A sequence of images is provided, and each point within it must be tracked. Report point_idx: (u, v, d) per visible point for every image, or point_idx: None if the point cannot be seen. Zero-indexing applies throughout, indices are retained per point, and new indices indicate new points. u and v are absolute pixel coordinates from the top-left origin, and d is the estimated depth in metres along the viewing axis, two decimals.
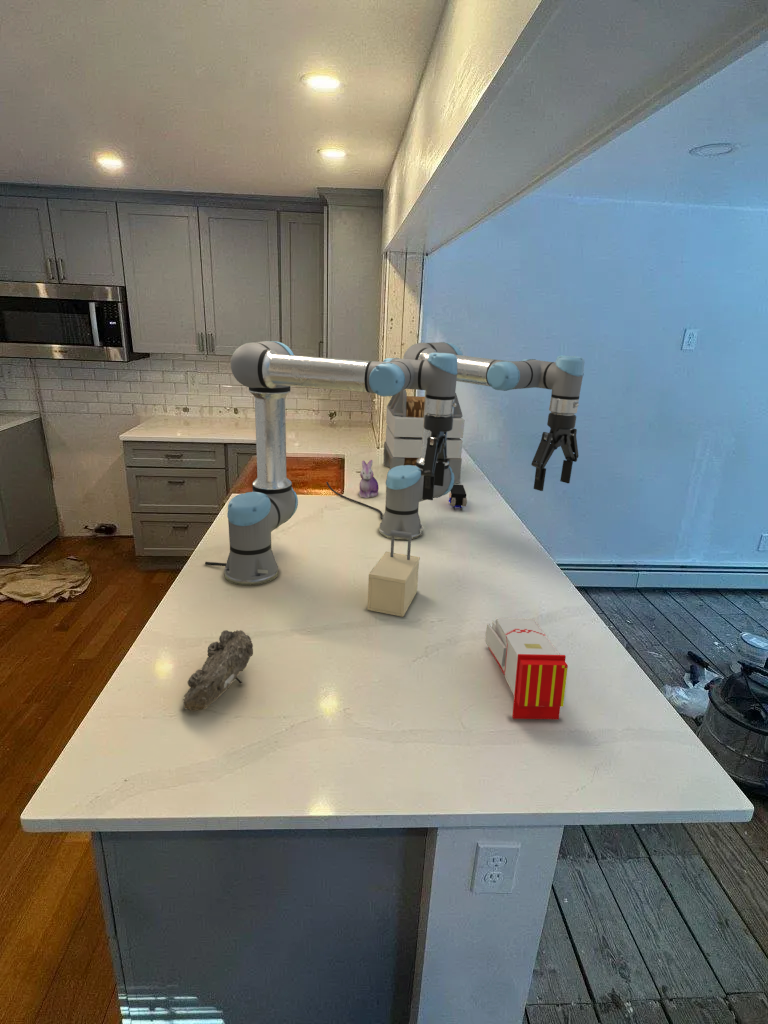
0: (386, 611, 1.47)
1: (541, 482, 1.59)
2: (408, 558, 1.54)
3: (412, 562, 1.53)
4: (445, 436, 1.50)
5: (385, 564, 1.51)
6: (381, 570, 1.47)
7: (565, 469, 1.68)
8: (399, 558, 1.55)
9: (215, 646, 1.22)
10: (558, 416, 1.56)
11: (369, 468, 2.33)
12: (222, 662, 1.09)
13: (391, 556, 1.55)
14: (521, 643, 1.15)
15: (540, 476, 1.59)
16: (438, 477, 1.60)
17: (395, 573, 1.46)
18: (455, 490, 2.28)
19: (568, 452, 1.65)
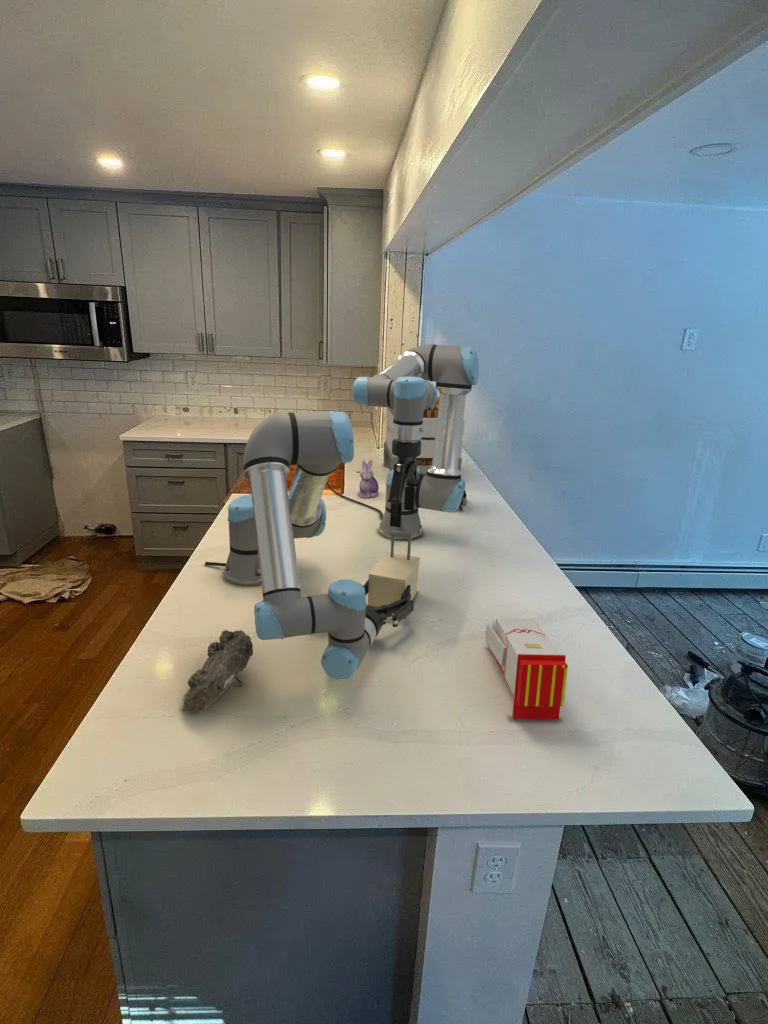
0: None
1: (399, 518, 1.44)
2: (408, 558, 1.54)
3: (412, 562, 1.53)
4: None
5: (385, 564, 1.51)
6: (381, 570, 1.47)
7: (408, 496, 1.56)
8: (399, 558, 1.55)
9: (215, 646, 1.22)
10: (406, 444, 1.41)
11: (369, 468, 2.33)
12: (222, 662, 1.09)
13: (391, 556, 1.55)
14: (521, 643, 1.15)
15: (397, 512, 1.43)
16: None
17: (395, 573, 1.46)
18: None
19: (411, 479, 1.52)
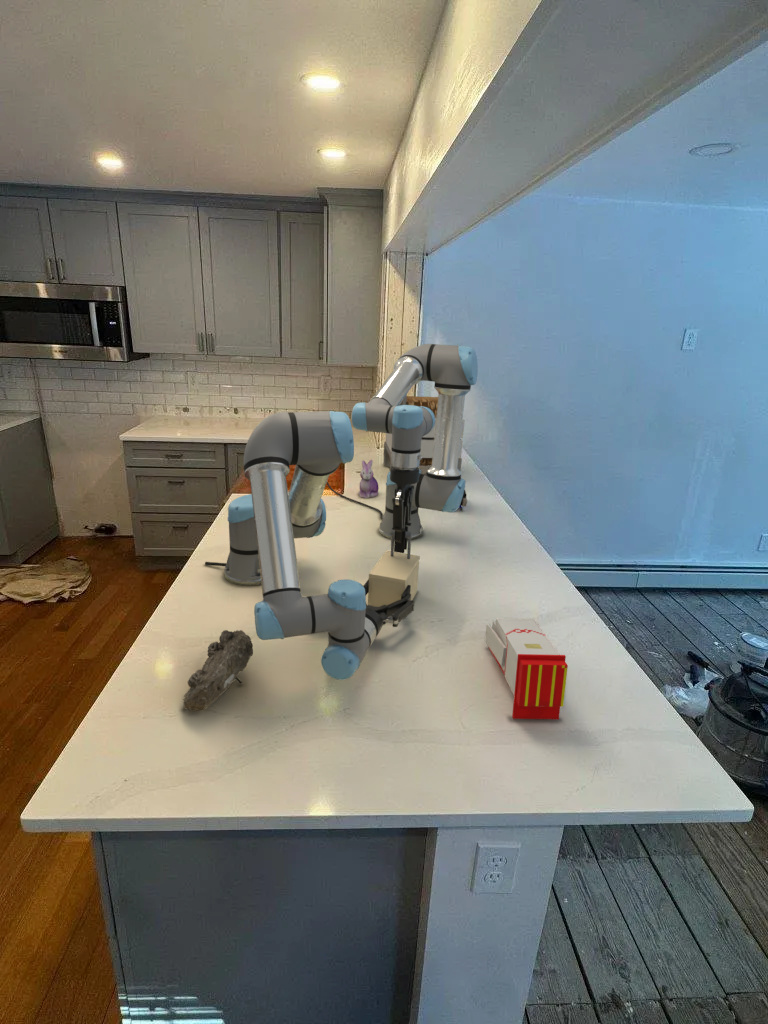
0: None
1: (403, 544, 1.52)
2: (408, 557, 1.54)
3: (412, 561, 1.53)
4: None
5: (386, 564, 1.51)
6: (381, 570, 1.47)
7: None
8: (399, 557, 1.55)
9: (215, 646, 1.22)
10: (404, 472, 1.43)
11: (369, 468, 2.33)
12: (222, 662, 1.09)
13: (391, 555, 1.55)
14: (521, 643, 1.15)
15: (401, 539, 1.51)
16: None
17: (395, 573, 1.46)
18: None
19: (406, 512, 1.52)
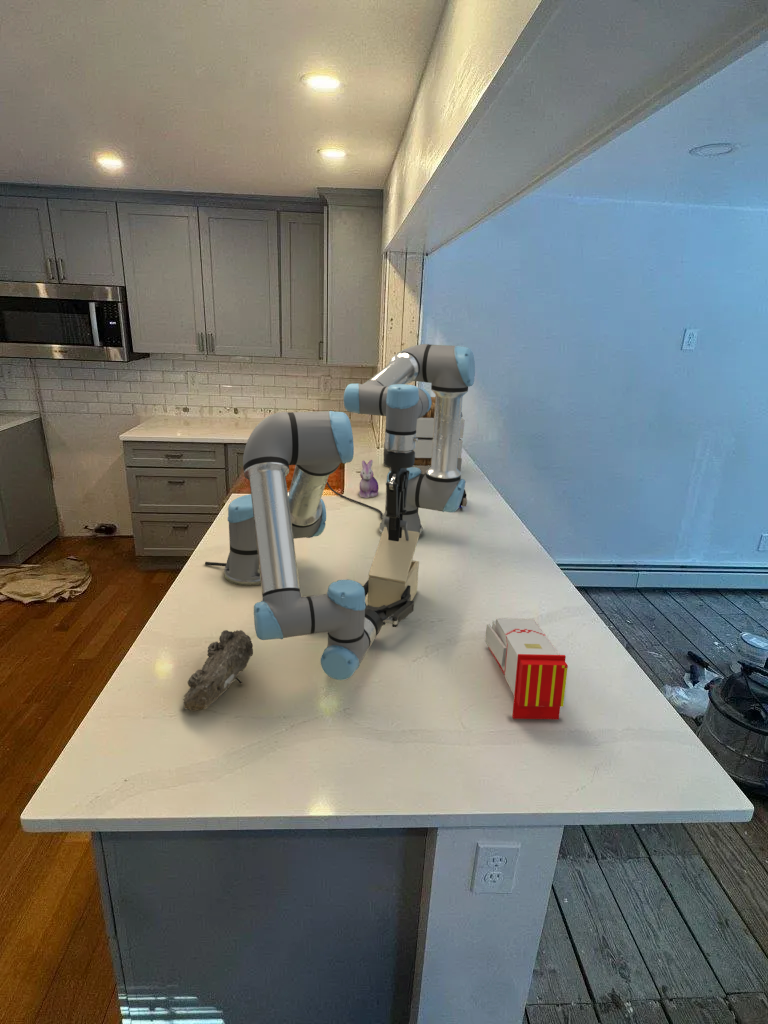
0: None
1: (397, 532, 1.44)
2: (407, 539, 1.49)
3: (411, 544, 1.49)
4: None
5: (384, 554, 1.48)
6: (381, 566, 1.46)
7: None
8: None
9: (215, 646, 1.22)
10: (399, 454, 1.35)
11: (369, 468, 2.33)
12: (222, 662, 1.09)
13: None
14: (521, 643, 1.15)
15: (396, 526, 1.43)
16: None
17: (394, 569, 1.45)
18: None
19: (401, 498, 1.44)
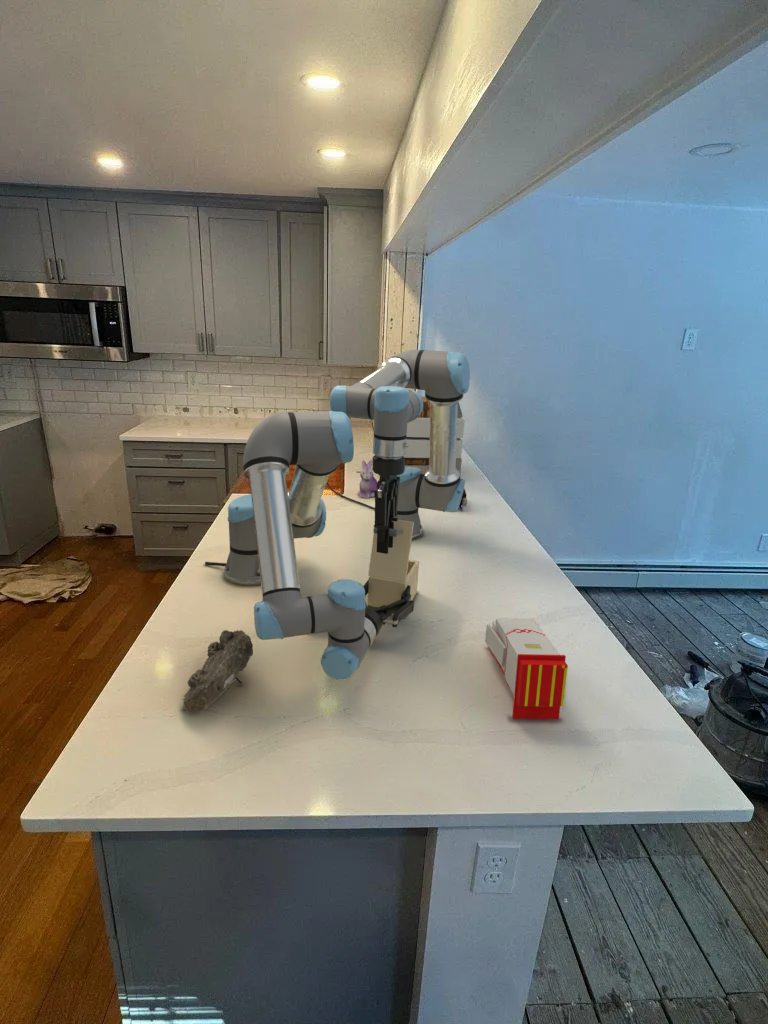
0: None
1: (386, 544, 1.35)
2: None
3: (406, 538, 1.42)
4: None
5: None
6: (379, 565, 1.44)
7: None
8: None
9: (215, 646, 1.22)
10: (388, 461, 1.27)
11: (369, 468, 2.33)
12: (222, 662, 1.09)
13: None
14: (521, 643, 1.15)
15: (384, 537, 1.34)
16: None
17: (393, 569, 1.43)
18: None
19: (391, 506, 1.36)
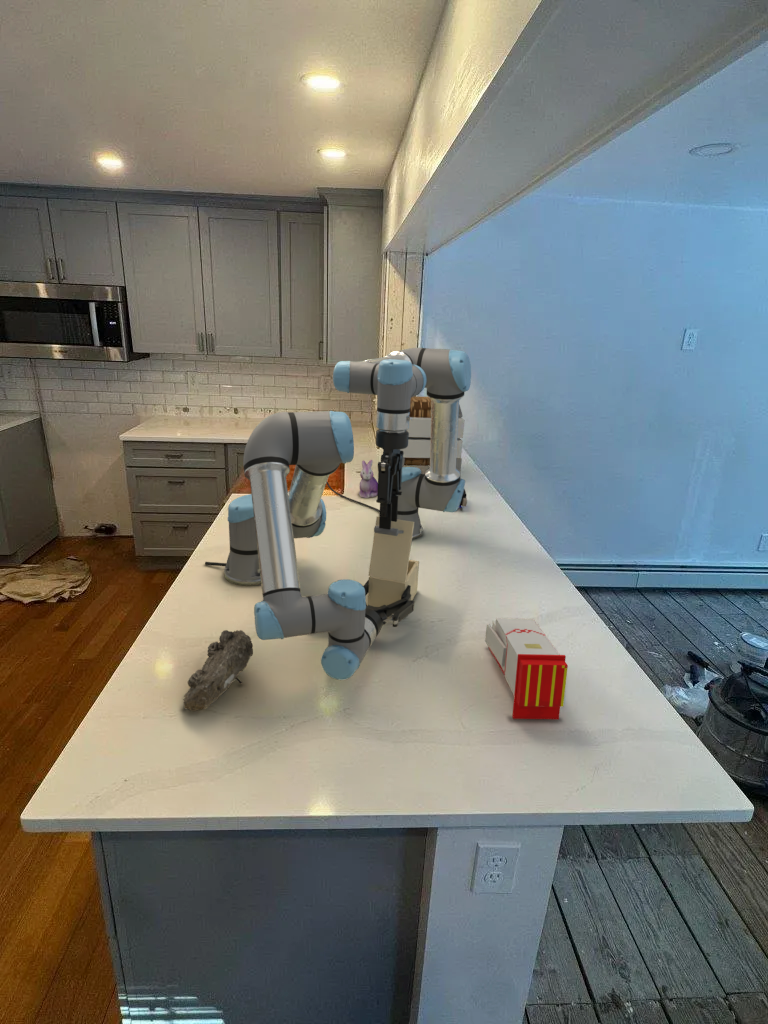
0: None
1: (389, 520, 1.34)
2: (402, 533, 1.42)
3: (407, 538, 1.42)
4: None
5: (381, 551, 1.44)
6: (379, 565, 1.44)
7: None
8: None
9: (215, 646, 1.22)
10: (392, 434, 1.27)
11: (369, 468, 2.33)
12: (222, 662, 1.09)
13: None
14: (521, 643, 1.15)
15: (387, 513, 1.33)
16: None
17: (393, 569, 1.43)
18: None
19: (395, 480, 1.36)
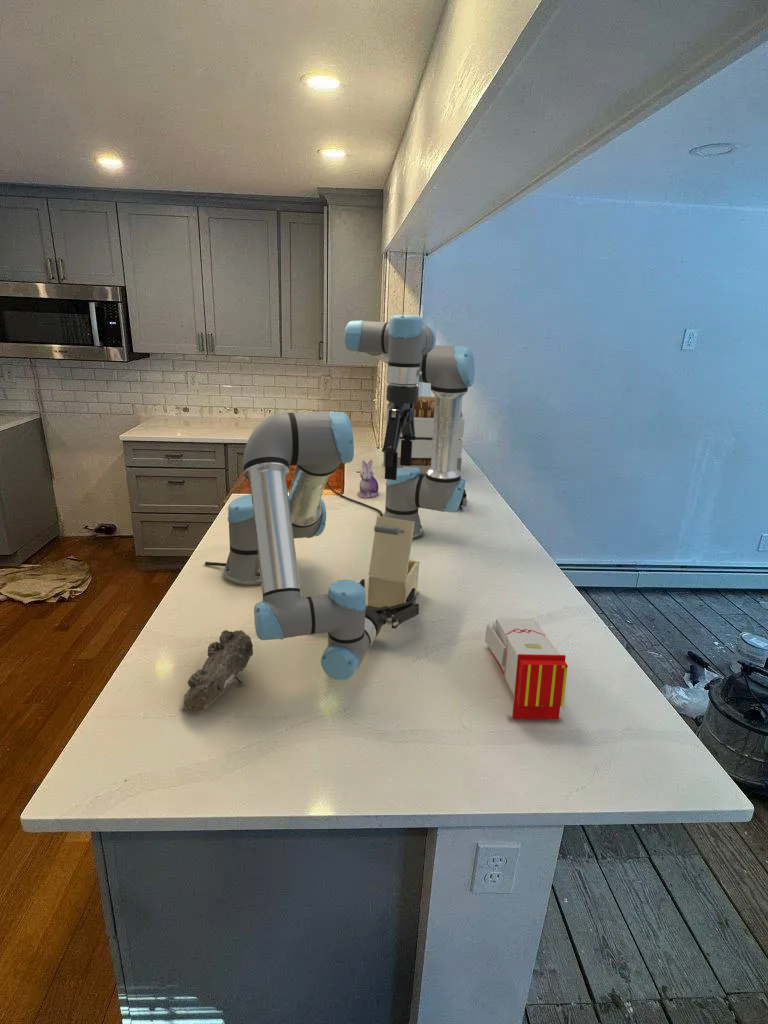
0: None
1: (395, 470, 1.32)
2: (402, 532, 1.43)
3: (407, 538, 1.43)
4: None
5: (381, 550, 1.44)
6: (379, 565, 1.44)
7: (405, 450, 1.44)
8: None
9: (215, 646, 1.22)
10: (402, 388, 1.30)
11: (369, 468, 2.33)
12: (222, 662, 1.09)
13: None
14: (521, 643, 1.15)
15: (393, 462, 1.31)
16: None
17: (393, 568, 1.43)
18: None
19: (408, 430, 1.41)
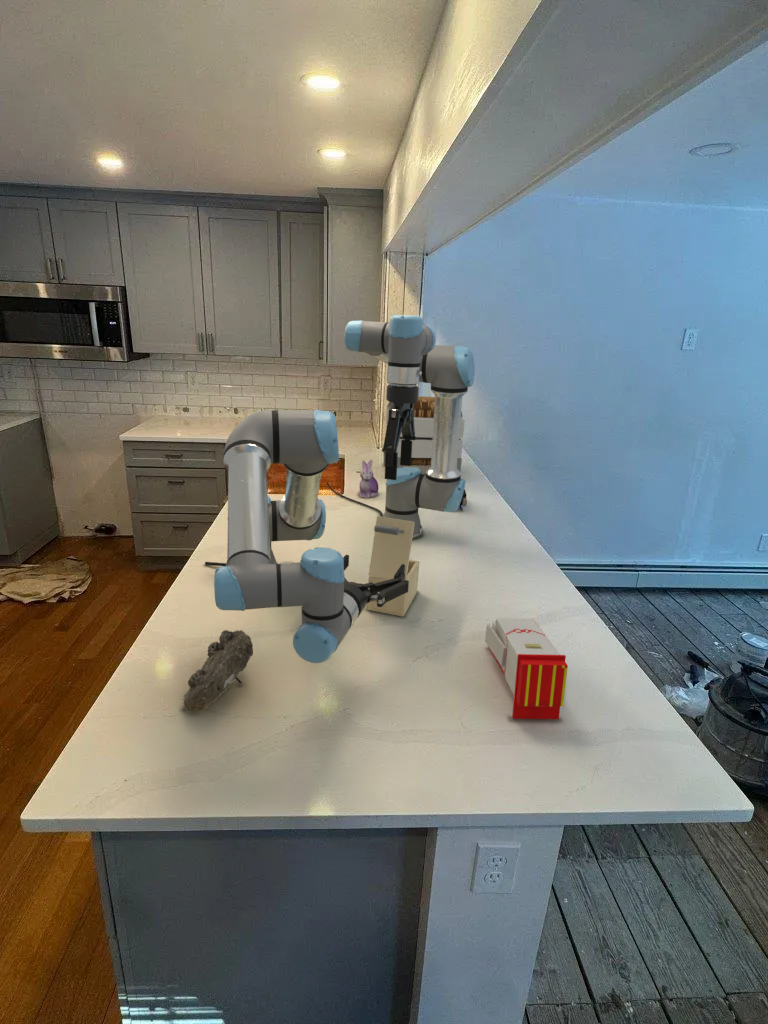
0: (386, 611, 1.47)
1: (395, 470, 1.32)
2: (402, 532, 1.43)
3: (407, 538, 1.43)
4: None
5: (381, 550, 1.44)
6: (379, 565, 1.44)
7: (405, 450, 1.44)
8: None
9: (215, 646, 1.22)
10: (402, 388, 1.30)
11: (369, 468, 2.33)
12: (222, 662, 1.09)
13: None
14: (521, 643, 1.15)
15: (393, 462, 1.31)
16: None
17: (393, 568, 1.43)
18: None
19: (408, 430, 1.41)
